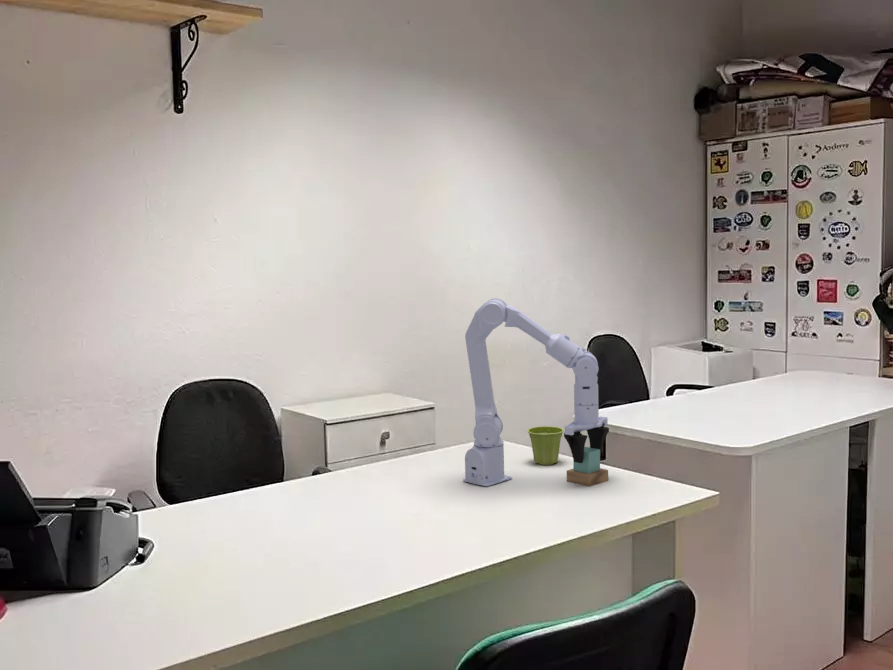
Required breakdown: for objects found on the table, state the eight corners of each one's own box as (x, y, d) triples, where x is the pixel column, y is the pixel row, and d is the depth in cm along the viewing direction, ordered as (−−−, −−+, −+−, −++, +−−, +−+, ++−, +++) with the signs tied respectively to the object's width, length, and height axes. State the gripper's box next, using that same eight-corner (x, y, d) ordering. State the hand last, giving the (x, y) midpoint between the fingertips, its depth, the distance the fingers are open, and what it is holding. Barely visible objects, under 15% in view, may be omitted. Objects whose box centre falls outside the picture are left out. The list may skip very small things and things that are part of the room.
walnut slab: (589, 488, 211) (589, 475, 210) (566, 482, 216) (566, 470, 216) (608, 482, 215) (608, 469, 215) (585, 477, 220) (585, 465, 220)
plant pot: (566, 466, 230) (565, 433, 229) (529, 467, 230) (528, 434, 229) (562, 457, 239) (561, 425, 238) (526, 458, 239) (526, 426, 238)
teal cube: (588, 473, 212) (588, 452, 212) (573, 470, 215) (573, 449, 215) (600, 469, 215) (599, 449, 215) (584, 466, 218) (584, 446, 218)
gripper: (581, 410, 206) (582, 468, 207) (617, 400, 216) (618, 456, 217) (557, 406, 211) (558, 463, 212) (593, 397, 221) (594, 452, 222)
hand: (587, 459), depth 215 cm, fingers open, 6 cm apart
